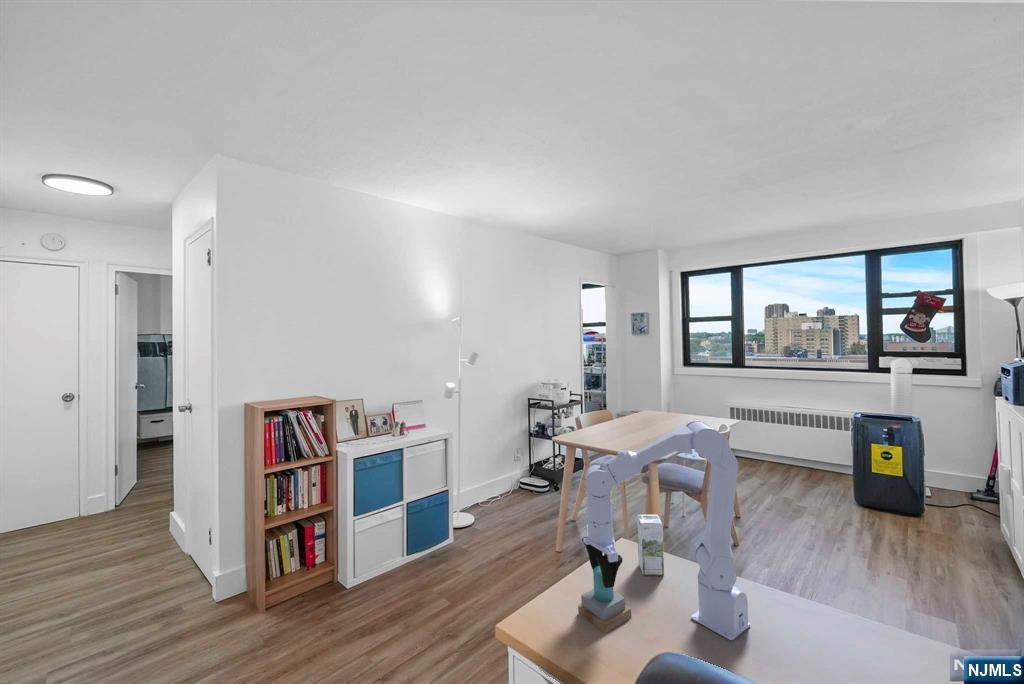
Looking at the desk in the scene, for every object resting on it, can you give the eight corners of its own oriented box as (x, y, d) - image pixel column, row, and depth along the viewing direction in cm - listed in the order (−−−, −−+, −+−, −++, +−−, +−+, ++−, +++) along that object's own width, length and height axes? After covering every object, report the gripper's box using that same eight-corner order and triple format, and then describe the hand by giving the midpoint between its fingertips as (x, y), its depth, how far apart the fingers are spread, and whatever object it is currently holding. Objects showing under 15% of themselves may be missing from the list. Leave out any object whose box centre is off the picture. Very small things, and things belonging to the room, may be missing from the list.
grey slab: (625, 608, 99) (624, 597, 99) (603, 621, 95) (603, 609, 95) (602, 594, 105) (602, 584, 105) (581, 605, 101) (581, 594, 101)
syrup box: (659, 564, 120) (657, 513, 120) (664, 576, 114) (662, 522, 114) (638, 564, 121) (636, 513, 121) (642, 576, 115) (640, 522, 115)
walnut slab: (631, 619, 99) (631, 608, 99) (605, 635, 94) (605, 624, 94) (603, 601, 106) (603, 591, 106) (578, 615, 101) (578, 605, 101)
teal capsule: (617, 597, 99) (616, 571, 99) (604, 605, 97) (603, 578, 96) (603, 588, 103) (602, 563, 103) (590, 595, 100) (589, 570, 100)
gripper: (573, 509, 106) (575, 563, 106) (594, 535, 92) (597, 598, 92) (600, 505, 107) (603, 559, 107) (625, 531, 93) (628, 593, 93)
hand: (602, 577), depth 100 cm, fingers open, 7 cm apart
